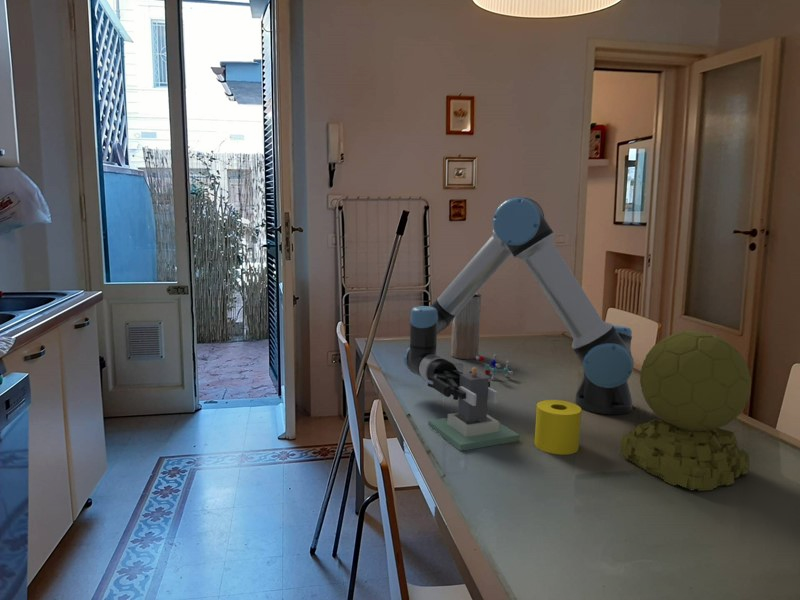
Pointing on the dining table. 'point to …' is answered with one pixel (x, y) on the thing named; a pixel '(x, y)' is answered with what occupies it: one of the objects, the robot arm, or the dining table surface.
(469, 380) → the plug
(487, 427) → the board
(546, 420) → the yellow hollow cylinder
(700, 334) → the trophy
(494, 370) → the molecular model
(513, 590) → the dining table surface
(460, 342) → the planter
